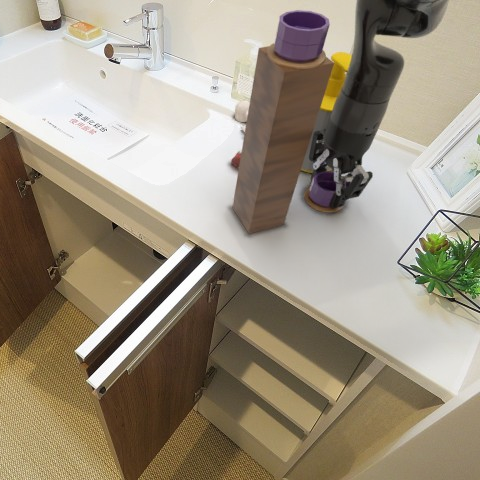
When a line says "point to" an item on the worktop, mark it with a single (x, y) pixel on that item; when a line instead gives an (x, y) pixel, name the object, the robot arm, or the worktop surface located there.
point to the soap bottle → (329, 101)
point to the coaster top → (295, 65)
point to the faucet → (242, 111)
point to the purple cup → (323, 188)
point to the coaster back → (316, 206)
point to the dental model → (236, 159)
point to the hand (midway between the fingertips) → (325, 195)
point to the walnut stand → (276, 139)
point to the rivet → (243, 128)
